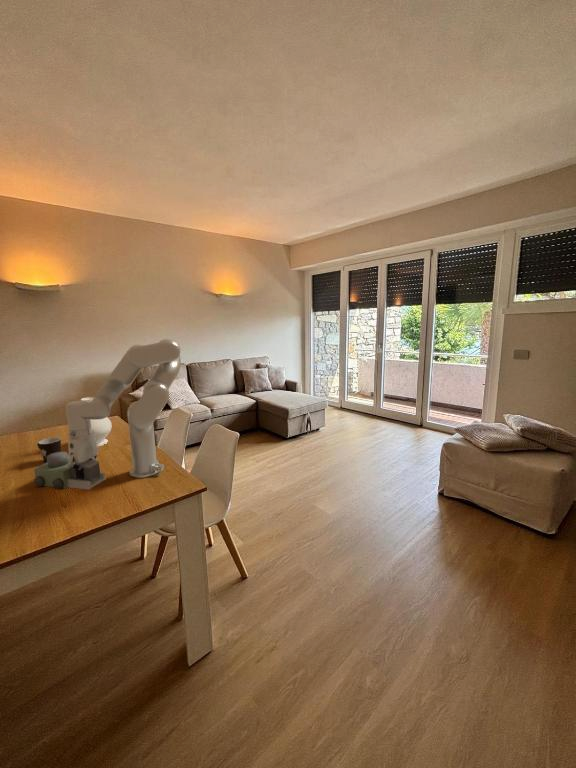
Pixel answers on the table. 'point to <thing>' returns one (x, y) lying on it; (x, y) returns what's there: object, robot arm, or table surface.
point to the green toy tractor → (61, 474)
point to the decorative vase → (99, 426)
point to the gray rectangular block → (88, 470)
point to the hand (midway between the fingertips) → (86, 474)
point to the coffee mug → (49, 446)
